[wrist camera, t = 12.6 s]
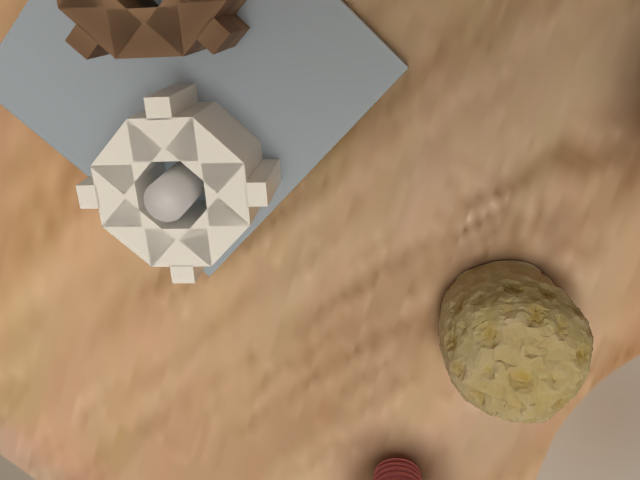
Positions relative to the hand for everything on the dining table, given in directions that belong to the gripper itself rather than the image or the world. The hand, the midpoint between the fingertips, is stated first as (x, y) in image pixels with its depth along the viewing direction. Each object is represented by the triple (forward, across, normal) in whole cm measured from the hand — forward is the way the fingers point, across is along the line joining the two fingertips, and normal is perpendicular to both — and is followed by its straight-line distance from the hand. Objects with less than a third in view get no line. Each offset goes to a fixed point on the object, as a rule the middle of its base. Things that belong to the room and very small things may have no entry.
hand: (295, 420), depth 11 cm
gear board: (+29, -10, +3) cm, 31 cm away
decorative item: (+29, +10, -14) cm, 34 cm away
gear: (+27, -10, -3) cm, 29 cm away
